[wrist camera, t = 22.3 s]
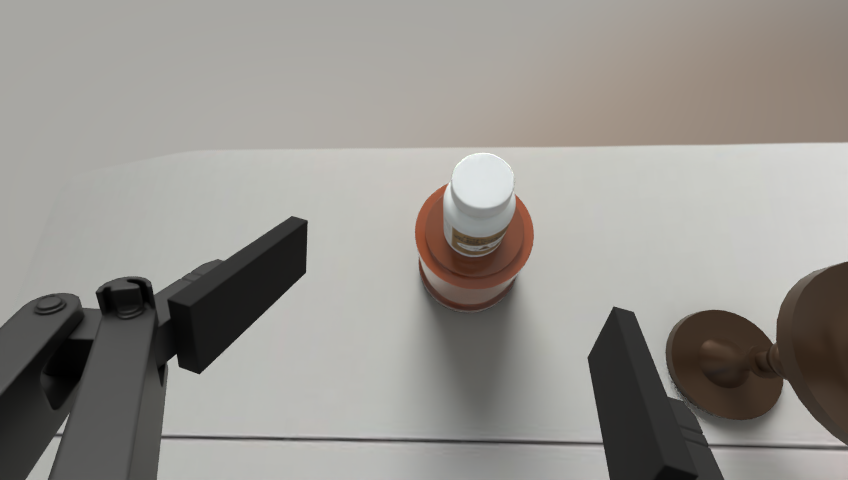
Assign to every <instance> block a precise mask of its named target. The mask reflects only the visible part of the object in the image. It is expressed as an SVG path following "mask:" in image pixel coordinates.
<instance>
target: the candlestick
mask: <svg viewBox="0 0 848 480" xmlns="http://www.w3.org/2000/svg"><path fill="white" fill-rule="evenodd" d="M776 341H777V342H776V343H775V344H772V342H771V341H770V340H769V338H768V337H767V336H766V335H765V333H764V332H763V331H761V330H760V329H759V328H758V327H757V326H756V325H755V324H753V323H752V322H750V321H749V320H747V319H746V318H744V317H741V316H739V315H737V314H735V313H731V312H727V311H722V310H707V311H701V312H697V313H694V314H691V315H688V316H687V317H685V318H683V319H682V320H680V321H679V322H678V323H677V324H676V325H675V326H674V328H673V329H672V331H671V333H670V335H669V338H668V341H667V345H666V360H667V365H668V369H669V372H670V375H671V377H672V379H673V381H674V383H675V385H676V386H677V387H678V389H679V390H680V391H681V393H682V394H683V395H684V396H685V397H686V398H687V399H688V400H689V401H690V402H691V403H693V404H694V405H695V406H697V407H698V408H699V409H701V410H703V411H705V412H707V413H709V414H712V415H715V416H718V417H722V418H727V419H736V420H745V419H752V418H755V417H758V416H761V415H763V414H764V413H766V412H767V411H769V410H770V409H771V408H772V407H773V406H774V404H775V403H776V402H777V400H778V398H779V396H780V394H781V390H782V386H783V379H785V380H788V381H789V383H790V384H791V386H792V388H793V389H794V391H795V393H796V395H797V396H798V398H799V400H800V401H801V402H802V403H803V405H804V406H805V407H806V408H807V409H808V411H809V412H810V413H811V414H812V416H813V417H814V418H815V419H816V420H817V421H818V422H819V423H820V424H821V425H822V426H824V427H825V428H826V429H827V430H828V431H829V432H830V433H831V434H832V435H833V436H835V437H836V438H838V439H839V440H841V441H842V442H843V443H845V444H846V445H848V262H844V263H840V264H836V265H832V266H829V267H826V268H823V269H820V270H817V271H814V272H812V273H810V274H809V275H807V276H805V277H804V278H802V279H800V280H799V281H798V282H797V283H796V284H795V285H794V286H793V287H792V288H791V290H790V291H789V292H788V294H787V295H786V297H785V299H784V301H783V303H782V304H781V307H780V311H779V315H778V319H777V333H776Z"/></svg>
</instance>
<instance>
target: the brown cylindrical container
mask: <svg viewBox="0 0 848 480" xmlns="http://www.w3.org/2000/svg"><path fill="white" fill-rule="evenodd" d="M448 184H449V183H448ZM448 184H446V185H444V186H442V187H441V188H439V189H438V190H436V191H435V192H434V193H433V194H432V195H431V196H430V197H429V198H428V199H427V200H426V202H425V203H424V204H423V206H422V208H421V210H420V212H419V214H418V217H417V221H416V226H415V240H416V244H417V249H418V253H419V270H420V275H421V278H422V281H423V284H424V286H425V288H426V290H427V291H428V293H429V294H430V295H431V296H432V297H433V299H434V300H436V301H437V302H438V303H439V304H441V305H442V306H444V307H446V308H448V309H450V310H453V311H456V312H462V313H475V312H480V311H484V310H486V309H489V308H491V307H493V306H494V305H496V304H497V303H499V302H500V301H501V300H502V299H503V298H504V297H505V295H506V294H507V293H508V292H509V290H510V289H511V287H512V285H513V283H514V281H515V278H516V275H517V274H518V273H519V271H520V270H521V269H522V267H523V266H524V265H525V263H526V261H527V260H528V258H529V255H530V253H531V250H532V246H533V239H534V231H533V224H532V220H531V217H530V215H529V212H528V210H527V208H526V207H525V205H524V204H523V202H522V201H521V200H520V199H519V198H518V197H517V196H516V195H515V198H516V207H515V212H514V214H513V217H512V220H511V222H510V224H509V226H508V228H507V231H506V233H505V235H504V237H503V239H502V241H501V243H500V244H499V246H498V247H497V248H496V249H495V250H494V251H492V252H491V253H489V254H487V255H484V256H480V257H468V256H465V255H462V254H460V253H458V252H457V251H455V250H454V249H453V248H452V247H451V246H450V245H449V243H448V242H447V240H446V238H445V235H444V219H443V218H444V217H443V199H444V193H445V190H446V188H447V186H448Z"/></svg>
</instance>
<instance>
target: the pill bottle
mask: <svg viewBox="0 0 848 480" xmlns="http://www.w3.org/2000/svg"><path fill="white" fill-rule="evenodd" d="M514 186H515V179H514V174H513V172H512V169H511V168H510V166H509V165H508V164H507V163H506V162H505V161H504V160H503V159H501V158H500V157H498V156H496V155H493V154H488V153H477V154H473V155H470V156H468V157H466V158H464V159H463V160H461V161H460V162H459V163H458V165H457V166H456V167H455V169H454V171H453V173H452V177H451V181H450V183H449V184H448V186H447V188H446V190H445V193H444V199H443V217H444V218H443V219H444V235H445V238H446V240H447V242H448V243H449V245H450V246H451V247H452V248H453V249H454V250H455V251H457V252H458V253H460V254H462V255H465V256H468V257H480V256H484V255H487V254H489V253H491V252H492V251H494V250H495V249H496V248H497V247H498V246H499V244H500V243H501V241H502V239H503V237H504V235H505V233H506V231H507V228H508V226H509V224H510V222H511V220H512V217H513V214H514V212H515V207H516V198H515V193H514V191H513V190H514Z"/></svg>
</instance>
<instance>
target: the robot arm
mask: <svg viewBox="0 0 848 480" xmlns="http://www.w3.org/2000/svg"><path fill="white" fill-rule="evenodd" d="M307 224H308V220H304V219H300V218H297V217H293V216H291V217H290V218H288V219H287V220H285V221H284V222H282V223H281V224H279V225H278V226H276V227H275V228H273V229H272V230H270V231H269V232H267V233H266V234H264V235H263V236H261V237H260V238H258V239H257V240H255V241H254V242H252V243H251V244H249V245H248V246H246V247H245V248H243V249H242V250H240V251H239V252H237V253H236V254H234V255H233V256H231V257H230V258H228V259H227V260H225V261H222V260H219V259H217V260H214V261H211V262H208V263H205V264H203V265H201V266H199V267H198V268H196V269H195V270H193V271H192V272H191V273H188V274H187V275H185V276H184V277H182V279H179V280H177V281H176V282H174V283H173V284H171V285H169V286H168V287H166V288H165V289H163V290H161V291H160V292H158V293H157V294H155V295H154V294H153V289H152V285H151V282H150V281H149V280H147V279H146V278H142V277H123V278H118V279H115V280H112V281H109V282H107V283H105V284H104V285H102V286H100V287H99V289H98V290H97V291H96V296H97V299H98V303H99V306H100V309H91V308H82V305H81V302H80V299H79V297H78V296H76V295H74V294H68V293H58V294H50V295H46V296H42V297H39V298H37V299H35V300H32V301H30V302H29V303H27V304H26V305H24V306H23V307H22V308H21V309H20V310H19V311H18V312H16V313H15V314H14V315H13V316H12V317H11V318H10V319H9V320H8V321H7V322H6V323H5V324H4V325H3V326H2V327H1V328H0V480H25V479H26V478H27V476H28V475H29V473H30V472H31V470H32V469H33V467H34V466H35V464H36V463H37V461H38V460H39V458H40V457H41V455H42V454H43V452H44V451H45V449H46V448H47V446H48V445H49V443H50V442H51V440H52V439H53V437H54V436H55V434H56V433H57V431H58V430H59V428H60V426H61V425H62V423H63V422H64V420H65V419H66V417H67V416H68V414H69V413H70V414H69V417H68V420H67V423H66V426H65V429H64V432H63V435H62V438H61V441H60V444H59V447H58V451H57V454H56V457H55V460H54V463H53V466H52V469H51V472H50V475H49V478H48V480H157V471H158V462H159V452H160V443H161V433H162V424H163V414H164V405H165V395H166V386H167V376H168V365H167V361H168V360H170V359H171V358H172V357H173V356H174V355H176V354H177V358H178V364H179V367H181V368H183V369H186V370H189V371H192V372H195V373H197V374H200V373H201V372H202V371H204V370H205V369H206V368H207V367H208V366H209V365H210V364H211V363H212V362H213V361H214V360H215V359H216V358H217V357H218V356H219V355H220V354H221V353H222V352H223V351H224V350H225V349H227V348H228V347H229V346H230V345H231V344H232V343H233V342H234V341H235V340H236V339H237V338H238V337H239V336H240V335H241V334H242V333H243V332H244V331H245V330H246V329H247V328H248V327H250V326H251V325H252V324H253V323H254V322H255V321H256V320H257V319H258V318H259V317H260V316H261V315H262V314H263V313H264V312H265V311H266V310H267V309H268V308H269V307H270V306H272V305H273V304H274V303H275V302H276V301H277V300H278V299H279V298H280V297H281V296H282V295H283V294H284V293H285V292H286V291H287V290H288V289H289V288H290V287H291V286H292V285H293V284H295V283H296V282H297V281H298V280H299V279H300V278H301V277H302V276H303V275H304V274H305V273H306V256H307ZM588 362H589V368H590V373H591V379H592V384H593V390H594V395H595V400H596V406H597V411H598V417H599V422H600V428H601V433H602V439H603V444H604V449H605V455H606V460H607V466H608V471H609V477H610V480H724V478H723V476H722V474H721V471H720V469H719V467H718V465H717V463H716V460H715V458H714V456H713V454H712V452H711V449H710V448H708V443H707V441H706V438H705V436H704V435H702V433H703V432H702V429H701V427H700V425H699V423H698V421H697V418H696V417H695V415H694V414H693V413H692V412H691V411H690V409H689V408H688V407H687V406H686V405H685V403H684V402H683V401H680V400H677V399H673V398H670V397H667V394H666V392H665V389H664V387H663V384H662V382H661V379H660V377H659V374H658V372H657V369H656V367H655V364H654V362H653V359H652V357H651V354H650V351H649V349H648V346H647V344H646V341H645V339H644V336H643V334H642V331H641V329H640V326H639V324H638V321H637V319H636V316H635V314H634V312H632V311H628V310H624V309H621V308H617V307H613V309H612V311H611V313H610V315H609V317H608V319H607V321H606V322H605V324H604V326H603V328H602V330H601V332H600V334H599V336H598V338H597V340H596V342H595V344H594V346H593V348H592V350H591V352H590V354H589V356H588Z"/></svg>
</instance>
